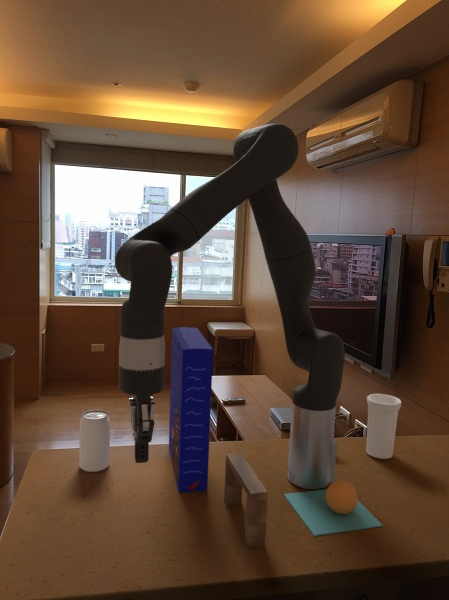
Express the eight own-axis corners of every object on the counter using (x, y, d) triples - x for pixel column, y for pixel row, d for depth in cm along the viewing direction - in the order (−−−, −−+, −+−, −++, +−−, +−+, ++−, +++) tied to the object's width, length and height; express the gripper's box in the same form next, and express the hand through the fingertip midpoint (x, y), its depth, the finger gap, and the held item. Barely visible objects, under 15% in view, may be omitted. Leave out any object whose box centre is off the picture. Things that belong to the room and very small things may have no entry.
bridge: (238, 498, 97) (240, 452, 96) (264, 545, 83) (267, 491, 82) (224, 500, 97) (226, 454, 95) (248, 547, 82) (251, 493, 81)
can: (101, 474, 105) (102, 421, 103) (73, 470, 106) (74, 417, 104) (114, 461, 111) (114, 411, 109) (88, 457, 112) (88, 407, 111)
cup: (401, 462, 117) (406, 405, 115) (367, 461, 117) (372, 403, 115) (390, 448, 125) (395, 394, 123) (358, 446, 125) (363, 392, 123)
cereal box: (207, 490, 100) (213, 348, 96) (178, 492, 99) (183, 348, 95) (192, 445, 121) (197, 326, 117) (168, 446, 120) (172, 326, 116)
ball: (326, 508, 97) (351, 492, 98) (341, 526, 91) (368, 509, 92) (315, 485, 96) (341, 469, 97) (330, 502, 90) (357, 485, 91)
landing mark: (344, 488, 103) (344, 487, 103) (382, 526, 90) (383, 525, 90) (283, 495, 100) (283, 494, 100) (314, 536, 86) (314, 535, 86)
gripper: (171, 372, 75) (169, 477, 78) (159, 351, 88) (157, 442, 90) (121, 374, 73) (121, 482, 76) (116, 352, 86) (116, 446, 88)
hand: (141, 460), depth 83 cm, fingers closed
